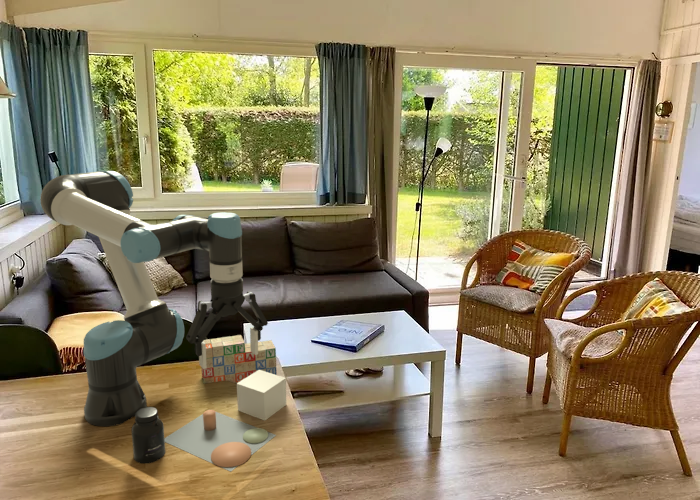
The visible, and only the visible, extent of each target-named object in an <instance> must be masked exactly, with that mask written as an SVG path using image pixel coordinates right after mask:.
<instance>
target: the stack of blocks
mask: <svg viewBox="0 0 700 500" xmlns="http://www.w3.org/2000/svg"><path fill="white" fill-rule="evenodd" d="M203 342H205V343H206V364H207V368H206V369H203V368H202V367H201V366H200V367H201V378H202V381H203V382H202V383H203V384H209V383H217V382H224V381H227V382H230V383H233V384H237V383H238V382H240V381H242V380H243V379H245V378H246V377H248V376H250V375H251V374H253V373H255V372H256V371H258V370H262V371H265V372H268V373H272V374H275V375H277V351H276V347H275V344H274V343H273V341H272V339H271V340H269V339H268V340H262V341H258V355H255V354H254V353H252V352H251V345H250V342H246V343H245V340H244V338H243V336H242V335H241V334H237V335H232V336H230V335H229V336H222V337H217V338H209V339H208V338H207V339H204V341H203Z"/></svg>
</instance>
